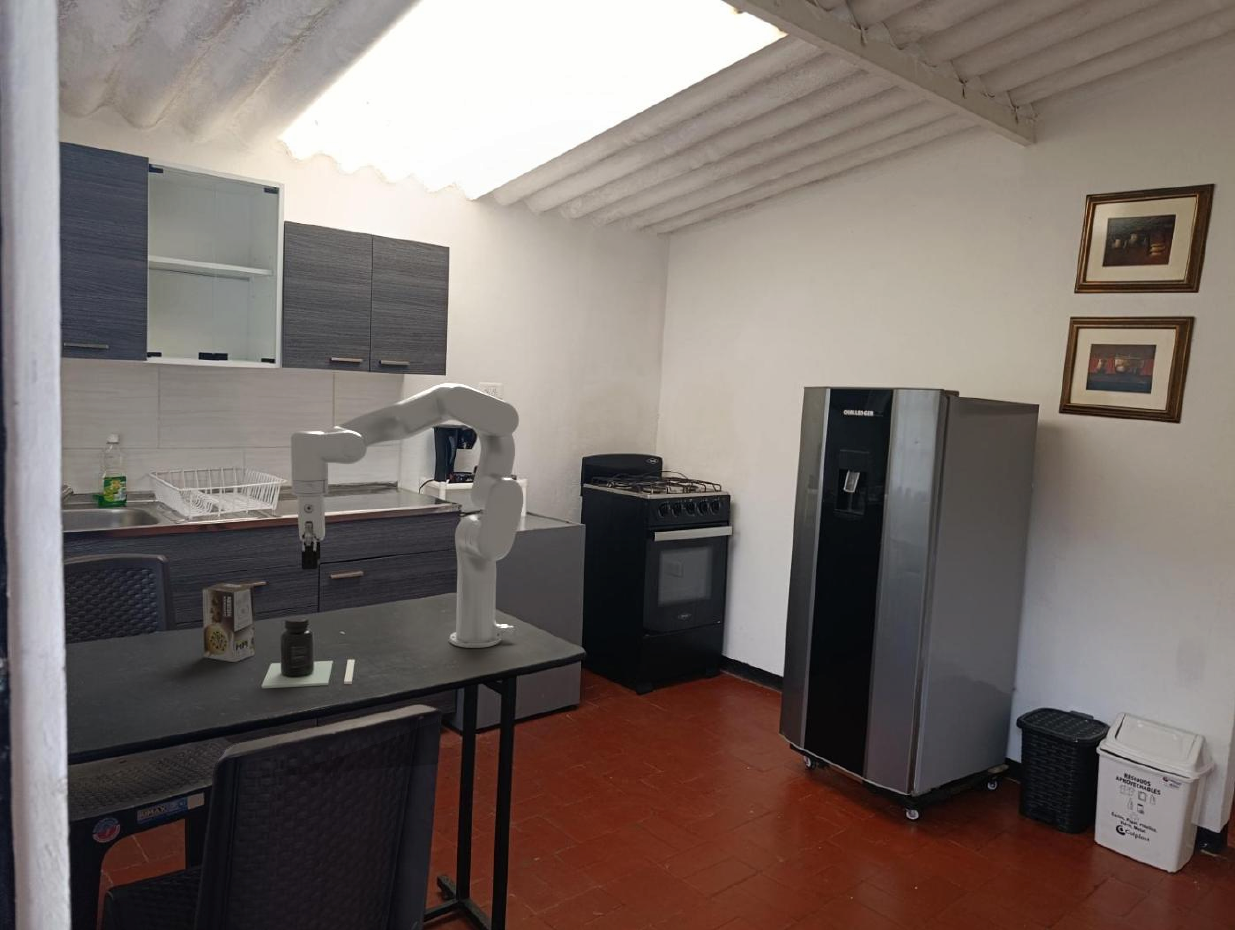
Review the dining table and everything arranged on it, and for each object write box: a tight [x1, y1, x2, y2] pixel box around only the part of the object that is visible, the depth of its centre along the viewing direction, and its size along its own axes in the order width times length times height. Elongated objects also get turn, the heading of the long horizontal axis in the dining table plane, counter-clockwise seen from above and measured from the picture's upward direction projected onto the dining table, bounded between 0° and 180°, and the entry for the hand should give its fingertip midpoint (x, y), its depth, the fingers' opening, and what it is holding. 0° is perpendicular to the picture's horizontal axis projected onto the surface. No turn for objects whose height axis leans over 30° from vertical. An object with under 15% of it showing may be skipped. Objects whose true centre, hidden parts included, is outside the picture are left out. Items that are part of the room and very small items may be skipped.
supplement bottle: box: [279, 615, 315, 677], centre depth 182 cm, size 7×7×12 cm
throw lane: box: [261, 659, 356, 689], centre depth 184 cm, size 18×14×1 cm
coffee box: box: [202, 582, 255, 663], centre depth 192 cm, size 9×6×16 cm
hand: (311, 564), depth 187 cm, fingers open, 9 cm apart
